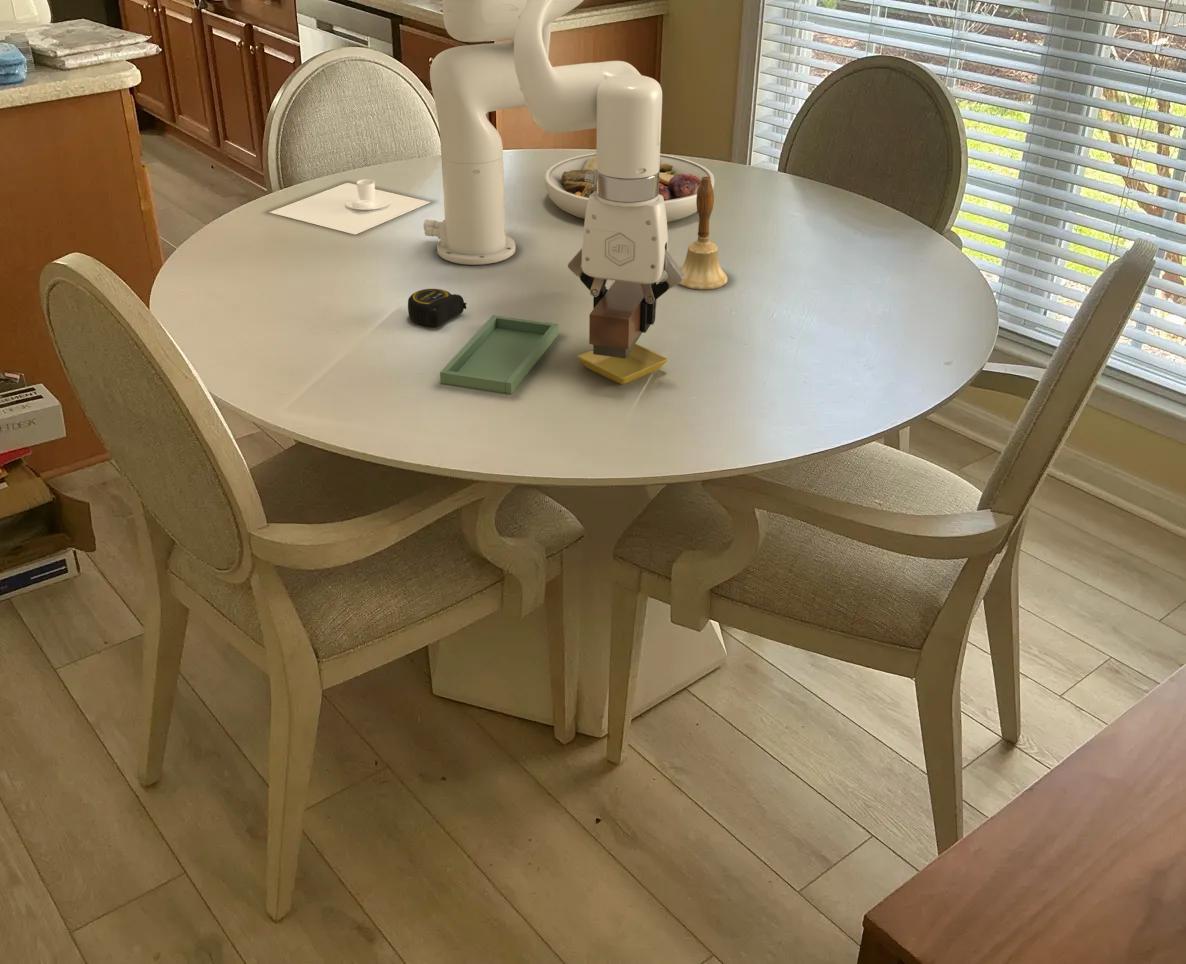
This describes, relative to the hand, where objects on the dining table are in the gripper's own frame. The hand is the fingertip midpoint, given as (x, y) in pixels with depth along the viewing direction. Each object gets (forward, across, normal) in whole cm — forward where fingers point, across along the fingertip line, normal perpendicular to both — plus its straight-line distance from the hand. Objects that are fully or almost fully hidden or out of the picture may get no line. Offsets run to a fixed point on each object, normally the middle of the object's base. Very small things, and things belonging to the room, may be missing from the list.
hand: (624, 324), depth 147 cm
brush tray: (+7, -16, -2) cm, 18 cm away
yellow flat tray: (+7, 0, 0) cm, 7 cm away
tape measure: (+7, -29, +7) cm, 31 cm away
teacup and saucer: (+6, -63, +47) cm, 79 cm away
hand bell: (+7, +3, +34) cm, 35 cm away
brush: (+2, 0, 0) cm, 2 cm away
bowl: (+7, -17, +65) cm, 68 cm away
